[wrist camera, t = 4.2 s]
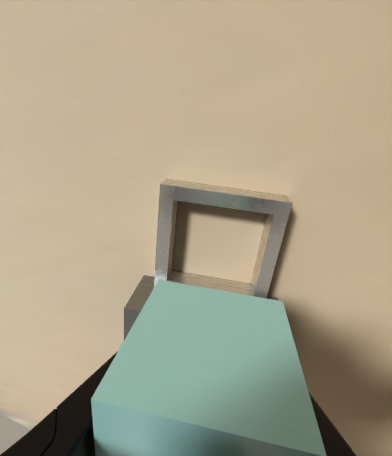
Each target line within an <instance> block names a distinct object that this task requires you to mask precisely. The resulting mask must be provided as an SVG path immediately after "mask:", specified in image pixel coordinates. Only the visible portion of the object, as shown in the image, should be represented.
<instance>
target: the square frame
mask: <svg viewBox="0 0 392 456" xmlns="http://www.w3.org/2000/svg"><path fill="white" fill-rule="evenodd" d="M178 201H183V202H190V203H197V204H204V205H211V206H217V207H224V208H231V209H238V210H245V211H252V212H258V213H265V214H267V218H266V222H265V226H264V231H263V235H262V239H261V243H260V247H259V252H258V256H257V260H256V264H255V268H254V273H253V277H252V281H251V284H249V283H243V282H237V281H231V280H225V279H219V278H213V277H207V276H201V275H195V274H189V273H183V272H177V271H172V261H173V250H174V239H175V228H176V217H177V206H178ZM291 206H292V202H291V201H290V200H289V199H288V197H287V196H284V195H277V194H270V193H263V192H256V191H249V190H241V189H234V188H227V187H220V186H213V185H206V184H199V183H192V182H185V181H177V180H170V179H166V180H165V181H164V182H162V183H161V184H160V196H159V212H158V229H157V245H156V262H155V277H150V276H143V278H142V279H141V281H140V283H139V284H138V286H137V288H136V289H135V291H134V293H133V294H132V296H131V298H130V299H129V301H128V303H127V305H126V306H125V308H124V340H125V338H126V337H127V335H128V333H129V331H130V330H131V328H132V326H133V324H134V322H135V321H136V319H137V317H138V315H139V314H140V312H141V310H142V308H143V307H144V305H145V303H146V301H147V300H148V298H149V296H150V294H151V293H152V291H153V289H154V287H155V285H156V284H157V282H158V280H165V281H171V282H176V283H182V284H188V285H193V286H199V287H204V288H210V289H216V290H221V291H227V292H233V293H238V294H244V295H249V296H255V297H261V298H266V299H272V300H278V299H277V298H273V297H267V294H268V291H269V287H270V283H271V280H272V276H273V272H274V269H275V265H276V261H277V258H278V254H279V250H280V247H281V243H282V239H283V236H284V232H285V228H286V225H287V221H288V217H289V214H290V210H291Z"/></svg>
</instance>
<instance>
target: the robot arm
mask: <svg viewBox="0 0 392 456" xmlns="http://www.w3.org/2000/svg"><path fill="white" fill-rule="evenodd" d="M116 354H117V353H115V354H114V355H113V356H112V357H111V358H110V359H109V360H108V361H107V362H106V363H105V364H103V365H102V366H101V367H100V368H99V369H98V370H97V371H96V372H95V373H94V374H92V375H91V376H90V377H89V378H88V379H87V380H86V381H85V382H84V383H83V384H82V385H80V386H79V387H78V388H77V389H76V390H75V391H74V392H73V393H72V394H71V395H69V396H68V397H67V398H66V399H65V400H64V401H63V402H62V403H61V404H60V405H58V406H57V410H56V409H54V410H53V411H52V412H51V413H50V414H49V415H47V416H46V417H45V418H44V419H43V420H42V421H41V422H40V423H38V424H37V425H36V426H35V427H34V428H33V429H32V430H30V431H29V432H28V433H27V434H26V435H24V436H23V437H22V438H21V439H20V440H19V441H17V442H16V443H15V444H13V445H12V446H11V447H10V448H8V449H7V450H6V451H5V452H3V453H2V454H1V455H0V456H95V444H94V431H93V418H92V406H91V398H92V397H93V395H94V393H95V391H96V389H97V388H98V386H99V384H100V382H101V381H102V379H103V377H104V375H105V374H106V372H107V370H108V368H109V367H110V365H111V363H112V361H113V360H114V358H115V356H116ZM309 396H310V399H311V403H312V406H313V410H314V413H315V417H316V420H317V424H318V427H319V431H320V434H321V438H322V441H323V445H324V448H325V452H326V455H327V456H356V455H355V453H354V452H353V451H352V449H351V448H350V447H349V445H348V444H347V443H346V441H345V440H344V439H343V437H342V436H341V434H340V433H339V432H338V430H337V429H336V428H335V426H334V425H333V424H332V422H331V421H330V420H329V418H328V417H327V416H326V414H325V413H324V412H323V410H322V409H321V408H320V406H319V405H318V404H317V402H316V401H315V400H314V398H313V397H312V396H311V394H310V393H309Z"/></svg>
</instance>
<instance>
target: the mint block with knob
mask: <svg viewBox="0 0 392 456" xmlns="http://www.w3.org/2000/svg"><path fill="white" fill-rule="evenodd" d="M91 406H92V418H93V431H94V444H95V456H327V455H326V452H325V448H324V445H323V441H322V438H321V434H320V431H319V427H318V424H317V420H316V417H315V413H314V410H313V406H312V403H311V399H310V396H309V392H308V388H307V385H306V381H305V378H304V374H303V371H302V367H301V364H300V360H299V357H298V353H297V350H296V346H295V343H294V339H293V336H292V332H291V329H290V325H289V322H288V318H287V314H286V311H285V307H284V304H283V301H278V300H272V299H266V298H261V297H255V296H249V295H244V294H238V293H233V292H227V291H221V290H216V289H210V288H204V287H199V286H193V285H188V284H182V283H176V282H171V281H165V280H158V282H157V284H156V285H155V287H154V289H153V291H152V293H151V294H150V296H149V298H148V300H147V301H146V303H145V305H144V307H143V308H142V310H141V312H140V314H139V315H138V317H137V319H136V321H135V322H134V324H133V326H132V328H131V330H130V331H129V333H128V335H127V337H126V338H125V340H124V342H123V344H122V345H121V347H120V349H119V351H118V352H117V354H116V356H115V358H114V360H113V361H112V363H111V365H110V367H109V368H108V370H107V372H106V374H105V375H104V377H103V379H102V381H101V382H100V384H99V386H98V388H97V389H96V391H95V393H94V395H93V397H92V398H91Z"/></svg>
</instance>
